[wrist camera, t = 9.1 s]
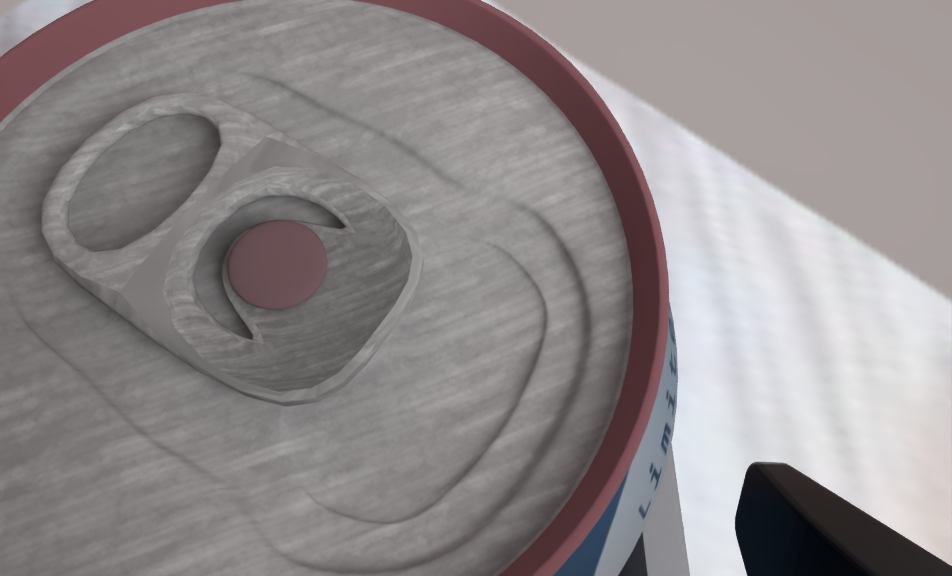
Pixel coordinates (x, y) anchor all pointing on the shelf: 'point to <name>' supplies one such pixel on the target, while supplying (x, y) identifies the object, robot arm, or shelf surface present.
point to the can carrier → (661, 534)
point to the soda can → (322, 297)
